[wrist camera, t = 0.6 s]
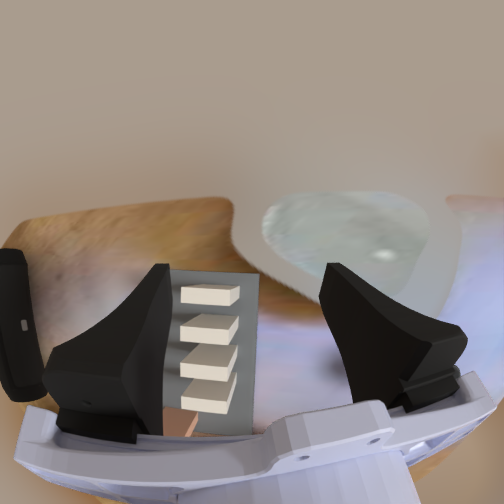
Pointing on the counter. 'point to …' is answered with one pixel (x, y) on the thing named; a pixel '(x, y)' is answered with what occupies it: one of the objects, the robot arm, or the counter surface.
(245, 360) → the slate mat
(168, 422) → the domino
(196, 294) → the domino
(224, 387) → the domino
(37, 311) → the counter surface
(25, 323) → the portable speaker
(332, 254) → the counter surface
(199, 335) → the domino
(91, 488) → the robot arm
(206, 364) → the domino
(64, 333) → the counter surface
